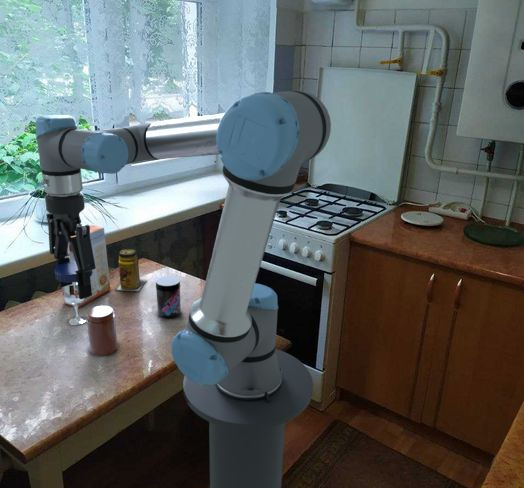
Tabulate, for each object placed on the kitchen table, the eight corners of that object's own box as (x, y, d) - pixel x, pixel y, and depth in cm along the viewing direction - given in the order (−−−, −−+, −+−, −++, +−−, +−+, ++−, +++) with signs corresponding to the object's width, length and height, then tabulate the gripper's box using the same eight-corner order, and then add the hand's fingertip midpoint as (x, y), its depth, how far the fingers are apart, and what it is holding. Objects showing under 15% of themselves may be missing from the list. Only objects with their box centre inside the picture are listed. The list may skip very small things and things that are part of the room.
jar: (122, 347, 125) (119, 310, 121) (100, 358, 120) (96, 320, 116) (107, 338, 129) (104, 302, 125) (84, 348, 124) (80, 311, 120)
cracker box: (96, 286, 158) (90, 223, 150) (111, 290, 155) (105, 227, 147) (62, 303, 146) (53, 237, 138) (77, 308, 143) (69, 241, 136)
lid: (48, 275, 110) (47, 267, 109) (80, 265, 115) (80, 257, 114) (66, 286, 105) (65, 277, 104) (99, 275, 110) (98, 267, 110)
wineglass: (93, 319, 138) (88, 280, 134) (77, 328, 133) (73, 288, 129) (77, 314, 140) (72, 275, 136) (61, 323, 135) (56, 283, 131)
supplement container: (156, 319, 139) (155, 286, 135) (157, 308, 145) (156, 276, 141) (181, 318, 140) (180, 285, 136) (181, 307, 146) (180, 275, 142)
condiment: (115, 290, 155) (112, 255, 151) (125, 279, 163) (122, 245, 158) (138, 291, 155) (136, 256, 150) (146, 280, 162) (144, 246, 158)
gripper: (23, 186, 106) (37, 282, 115) (72, 206, 94) (84, 312, 103) (56, 180, 112) (67, 272, 120) (107, 199, 99) (116, 300, 108)
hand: (75, 290), depth 111 cm, fingers closed on lid, 8 cm apart
